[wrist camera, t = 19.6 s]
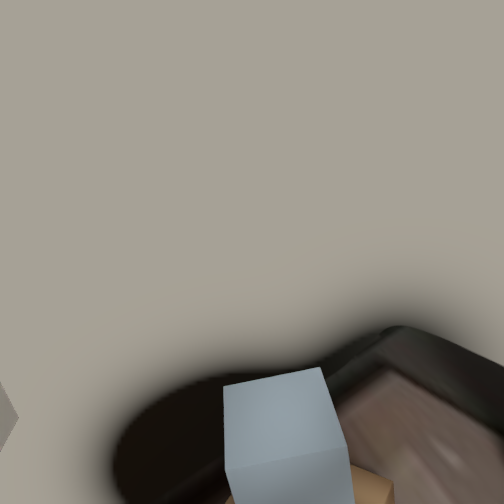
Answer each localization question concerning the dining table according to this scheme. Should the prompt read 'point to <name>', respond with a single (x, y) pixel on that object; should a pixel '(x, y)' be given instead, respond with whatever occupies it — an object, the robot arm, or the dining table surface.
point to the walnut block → (365, 488)
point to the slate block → (285, 442)
